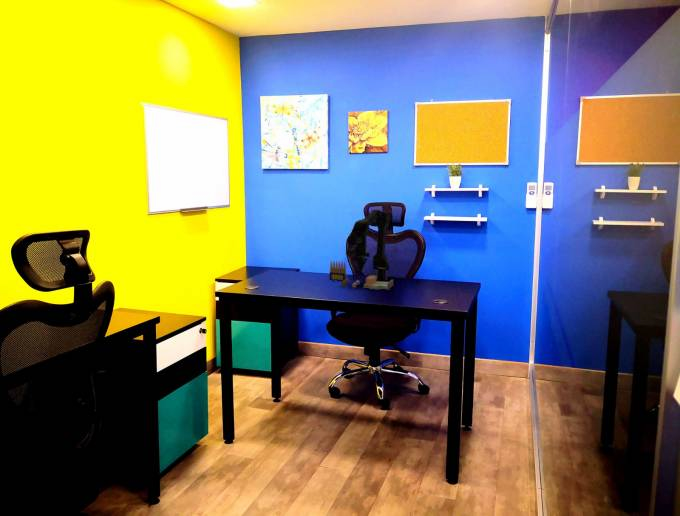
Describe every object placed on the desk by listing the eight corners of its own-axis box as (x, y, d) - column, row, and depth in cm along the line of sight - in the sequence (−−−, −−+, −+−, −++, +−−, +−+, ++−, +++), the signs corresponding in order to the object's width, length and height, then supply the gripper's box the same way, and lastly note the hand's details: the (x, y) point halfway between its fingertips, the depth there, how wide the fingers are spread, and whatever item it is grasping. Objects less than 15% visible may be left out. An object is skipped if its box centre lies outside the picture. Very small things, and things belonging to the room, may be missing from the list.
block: (369, 281, 313) (369, 275, 313) (376, 281, 312) (376, 275, 312) (365, 284, 303) (365, 278, 303) (372, 284, 302) (373, 278, 302)
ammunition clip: (346, 281, 323) (346, 261, 322) (345, 282, 322) (345, 262, 320) (330, 280, 328) (330, 260, 326) (329, 280, 326) (329, 260, 325)
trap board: (347, 283, 318) (347, 277, 318) (393, 285, 311) (393, 279, 311) (341, 287, 306) (341, 281, 305) (389, 289, 299) (389, 283, 298)
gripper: (351, 241, 317) (351, 268, 319) (343, 245, 299) (343, 273, 302) (370, 242, 314) (369, 269, 317) (363, 246, 297) (362, 274, 299)
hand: (361, 271), depth 309 cm, fingers closed
